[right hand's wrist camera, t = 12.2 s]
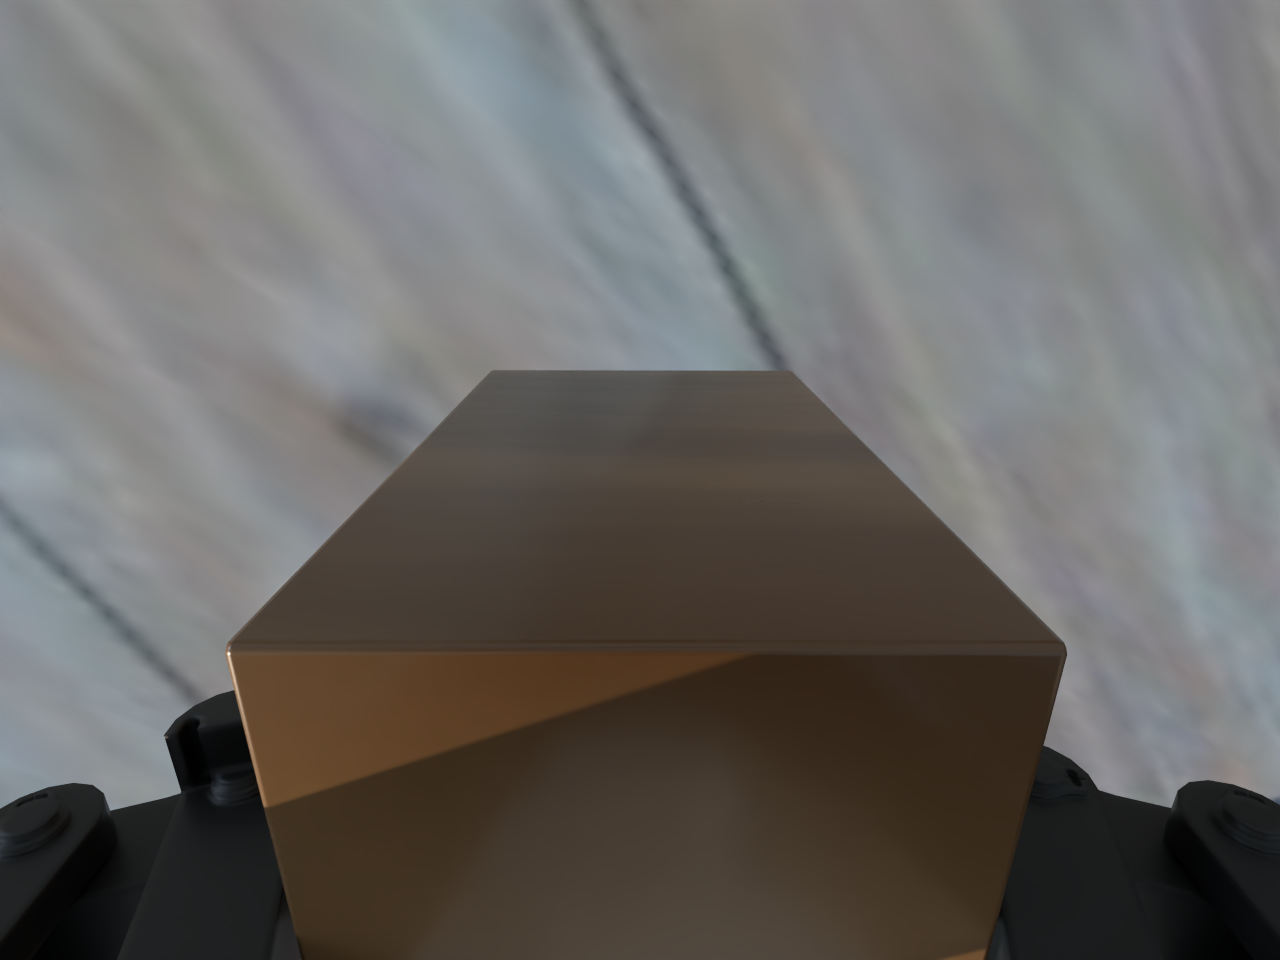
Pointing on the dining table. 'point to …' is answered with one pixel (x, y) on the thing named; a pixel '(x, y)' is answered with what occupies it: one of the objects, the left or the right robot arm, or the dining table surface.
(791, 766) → the box
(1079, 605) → the dining table surface
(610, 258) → the dining table surface
